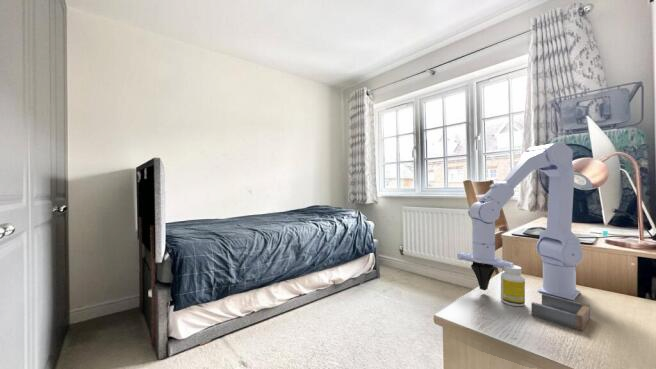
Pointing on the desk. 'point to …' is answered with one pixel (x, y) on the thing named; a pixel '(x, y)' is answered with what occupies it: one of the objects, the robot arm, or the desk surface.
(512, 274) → the supplement bottle
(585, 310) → the bracket
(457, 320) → the desk surface
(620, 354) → the desk surface
